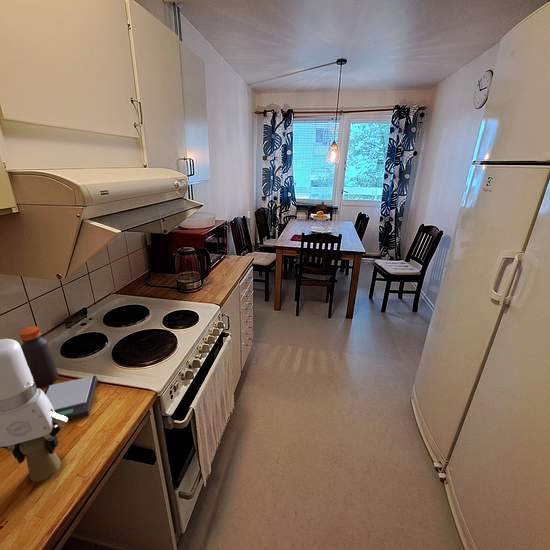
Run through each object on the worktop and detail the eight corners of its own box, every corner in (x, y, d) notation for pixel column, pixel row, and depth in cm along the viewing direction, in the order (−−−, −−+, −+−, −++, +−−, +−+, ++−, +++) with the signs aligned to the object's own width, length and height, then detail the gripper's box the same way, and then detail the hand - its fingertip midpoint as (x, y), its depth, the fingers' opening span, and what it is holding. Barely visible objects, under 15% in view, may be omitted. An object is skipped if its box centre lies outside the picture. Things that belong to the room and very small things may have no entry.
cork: (23, 476, 68) (8, 444, 64) (49, 453, 73) (37, 422, 69) (40, 485, 66) (26, 453, 62) (66, 461, 71) (54, 430, 67)
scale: (31, 431, 79) (28, 424, 78) (48, 391, 93) (46, 385, 92) (89, 416, 84) (87, 409, 83) (97, 379, 98) (96, 374, 97)
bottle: (42, 390, 93) (23, 338, 86) (29, 384, 96) (9, 333, 88) (63, 376, 99) (47, 327, 92) (50, 371, 102) (33, 323, 94)
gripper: (-50, 420, 55) (-16, 482, 61) (56, 395, 61) (77, 454, 67) (-29, 392, 61) (0, 451, 68) (65, 373, 67) (83, 428, 74)
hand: (38, 452), depth 68 cm, fingers closed on cork, 5 cm apart
